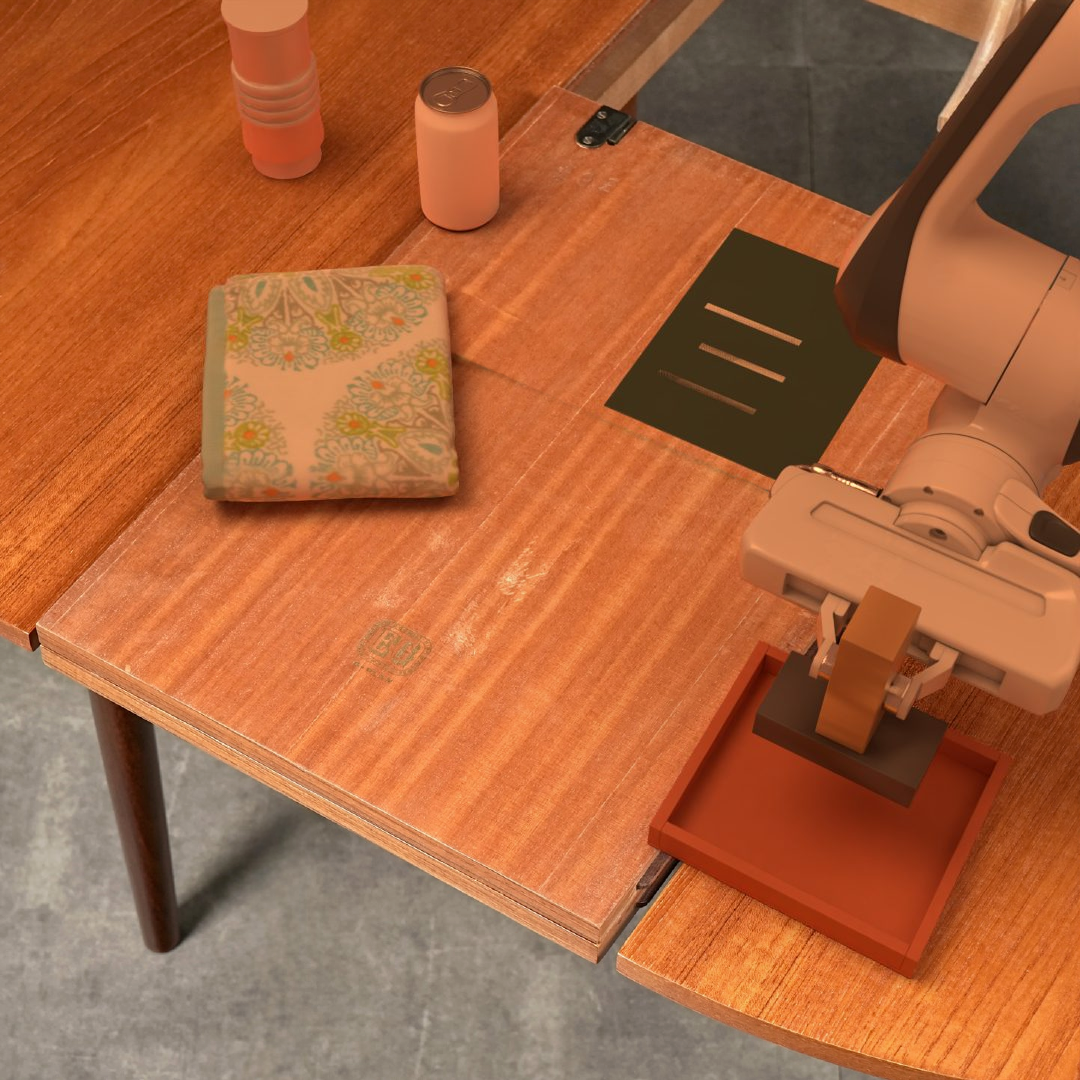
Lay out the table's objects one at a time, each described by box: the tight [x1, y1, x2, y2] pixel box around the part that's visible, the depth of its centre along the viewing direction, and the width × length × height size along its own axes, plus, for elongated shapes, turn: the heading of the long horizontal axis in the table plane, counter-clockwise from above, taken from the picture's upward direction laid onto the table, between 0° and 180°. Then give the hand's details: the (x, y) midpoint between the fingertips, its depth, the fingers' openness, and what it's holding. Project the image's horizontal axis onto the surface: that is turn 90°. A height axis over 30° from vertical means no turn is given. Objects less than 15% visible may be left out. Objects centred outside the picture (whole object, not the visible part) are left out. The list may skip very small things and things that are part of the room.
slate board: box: [603, 227, 884, 480], centre depth 129 cm, size 16×22×1 cm
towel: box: [200, 264, 460, 503], centre depth 125 cm, size 18×21×5 cm
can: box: [414, 65, 500, 232], centre depth 135 cm, size 6×6×12 cm
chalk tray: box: [646, 639, 1014, 979], centre depth 106 cm, size 18×16×2 cm
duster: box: [752, 585, 950, 809], centre depth 95 cm, size 10×5×12 cm, turn 60°
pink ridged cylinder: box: [220, 0, 326, 180], centre depth 137 cm, size 7×7×15 cm
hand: (857, 693), depth 94 cm, fingers closed on duster, 3 cm apart
